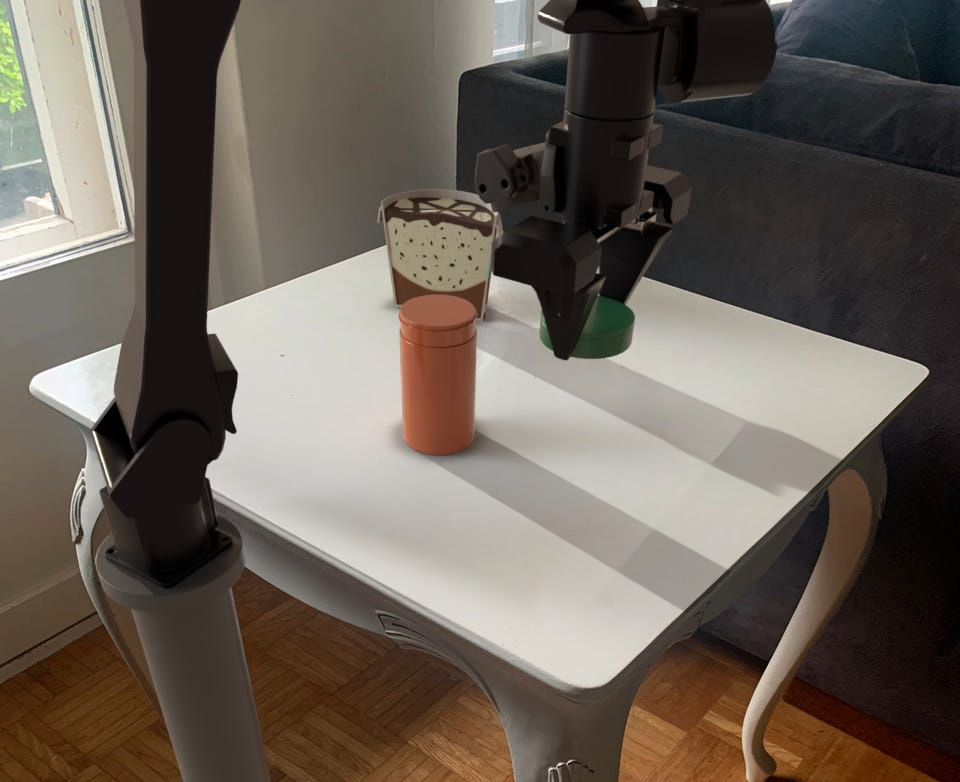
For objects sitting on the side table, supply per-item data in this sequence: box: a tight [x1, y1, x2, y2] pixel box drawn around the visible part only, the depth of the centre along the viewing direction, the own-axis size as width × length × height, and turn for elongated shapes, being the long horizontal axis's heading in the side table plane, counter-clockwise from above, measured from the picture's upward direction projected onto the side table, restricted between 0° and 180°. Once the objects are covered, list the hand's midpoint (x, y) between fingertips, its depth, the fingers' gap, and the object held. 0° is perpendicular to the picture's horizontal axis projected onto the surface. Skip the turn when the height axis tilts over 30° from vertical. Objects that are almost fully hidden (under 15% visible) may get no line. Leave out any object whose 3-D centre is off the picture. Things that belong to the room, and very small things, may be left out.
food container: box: [376, 188, 504, 322], centre depth 93 cm, size 12×6×10 cm, turn 71°
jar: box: [397, 295, 478, 456], centre depth 73 cm, size 6×6×11 cm
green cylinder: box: [539, 295, 636, 360], centre depth 70 cm, size 7×7×2 cm
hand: (585, 340), depth 71 cm, fingers closed on green cylinder, 7 cm apart
